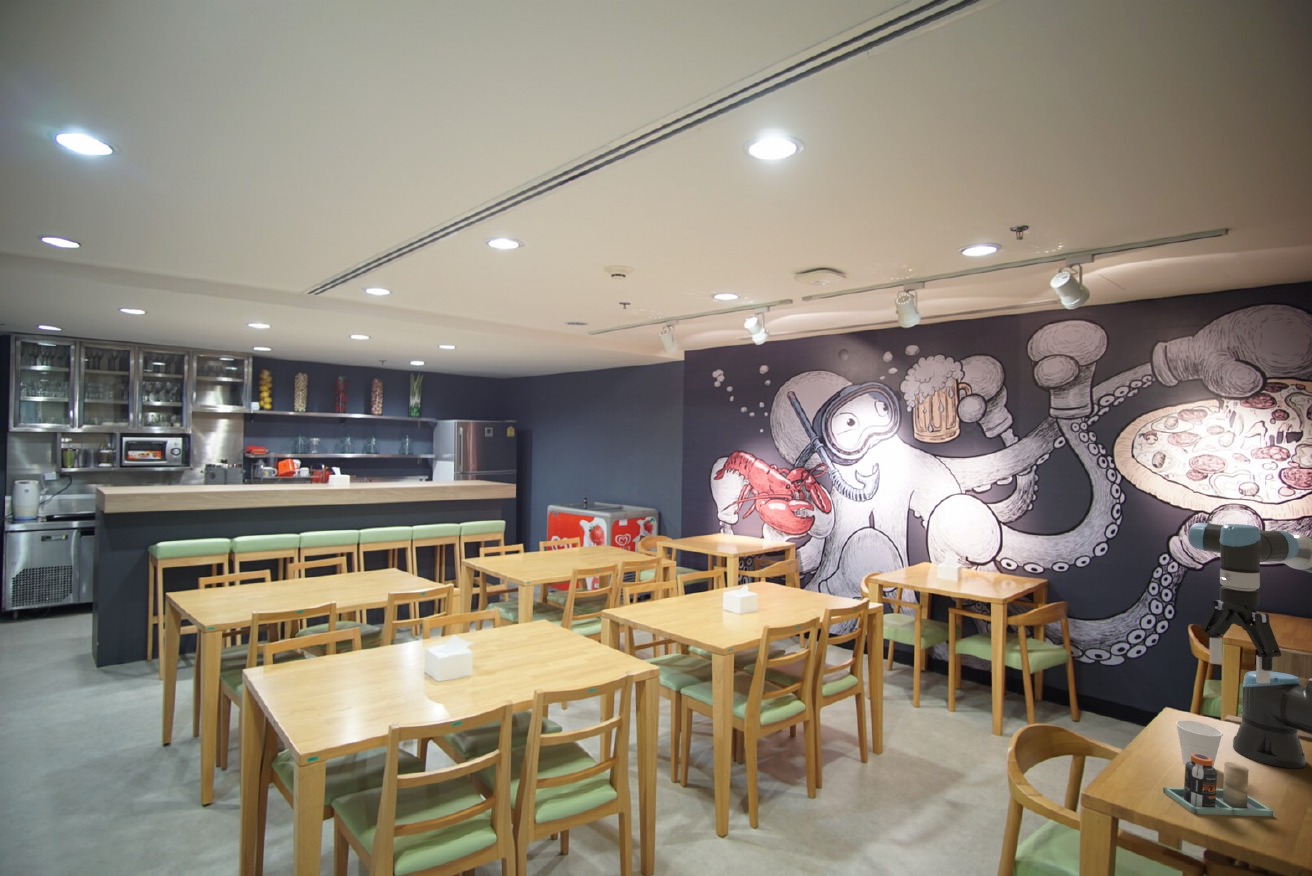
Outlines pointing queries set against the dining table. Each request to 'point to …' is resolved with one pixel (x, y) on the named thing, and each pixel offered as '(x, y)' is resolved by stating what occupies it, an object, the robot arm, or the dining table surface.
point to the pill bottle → (1200, 781)
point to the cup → (1198, 739)
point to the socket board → (1219, 805)
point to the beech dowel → (1235, 785)
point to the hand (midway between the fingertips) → (1238, 672)
